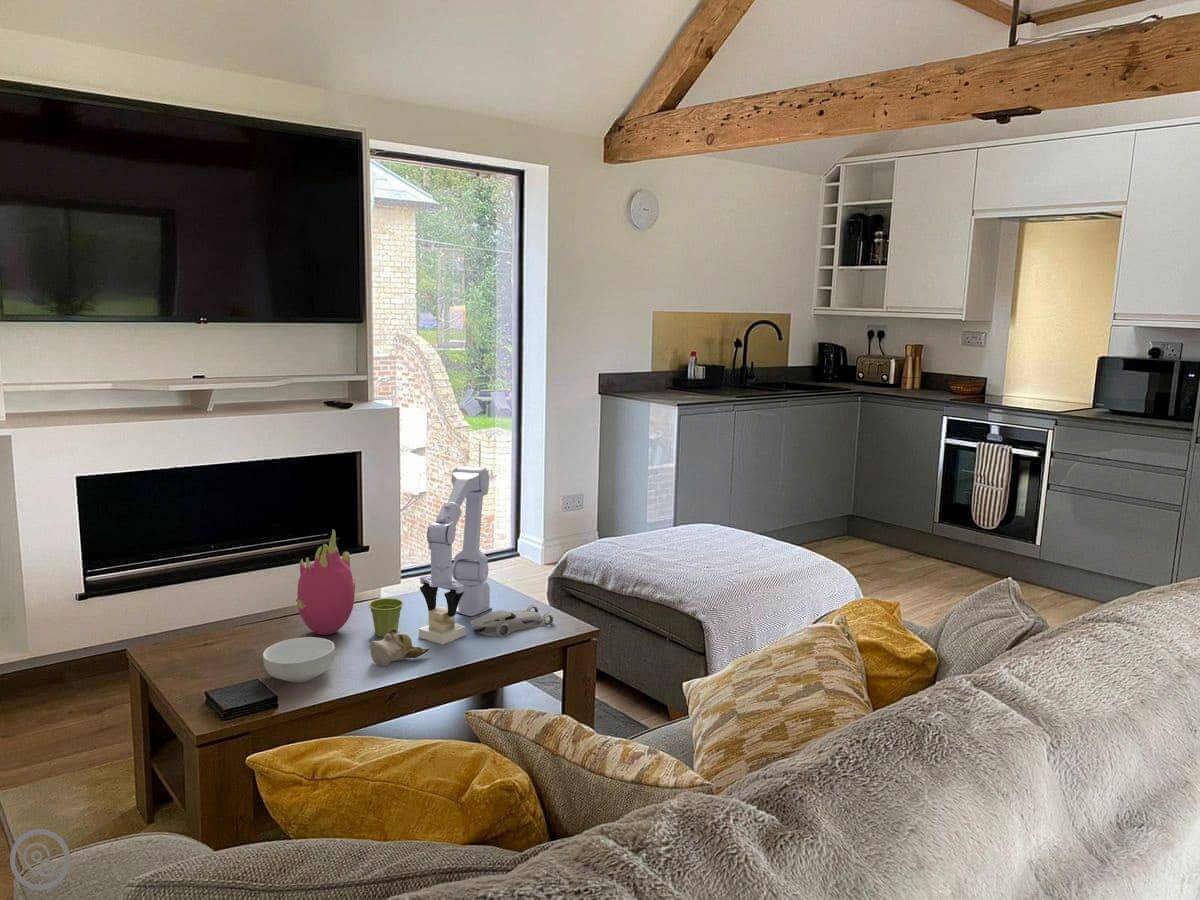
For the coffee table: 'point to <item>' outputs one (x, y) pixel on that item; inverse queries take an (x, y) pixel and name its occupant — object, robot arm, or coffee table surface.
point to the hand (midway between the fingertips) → (441, 612)
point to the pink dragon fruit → (326, 590)
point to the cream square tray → (441, 634)
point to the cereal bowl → (299, 658)
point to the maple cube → (441, 619)
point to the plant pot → (385, 615)
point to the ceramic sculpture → (394, 648)
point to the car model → (510, 621)
